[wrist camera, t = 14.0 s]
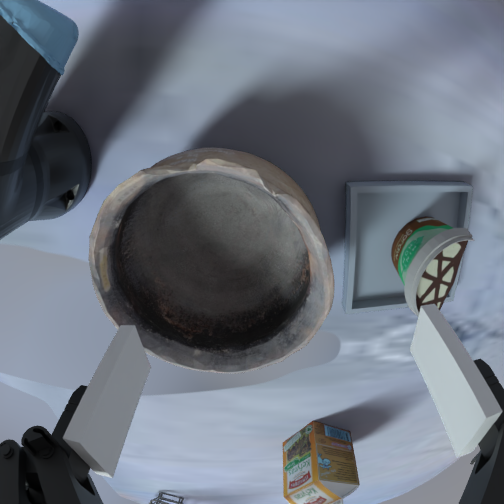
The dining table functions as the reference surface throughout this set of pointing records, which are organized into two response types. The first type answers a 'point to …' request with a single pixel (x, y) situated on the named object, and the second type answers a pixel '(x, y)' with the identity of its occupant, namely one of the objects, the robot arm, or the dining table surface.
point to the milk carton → (319, 465)
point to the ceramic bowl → (213, 261)
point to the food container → (428, 260)
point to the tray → (391, 235)
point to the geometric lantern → (165, 500)
